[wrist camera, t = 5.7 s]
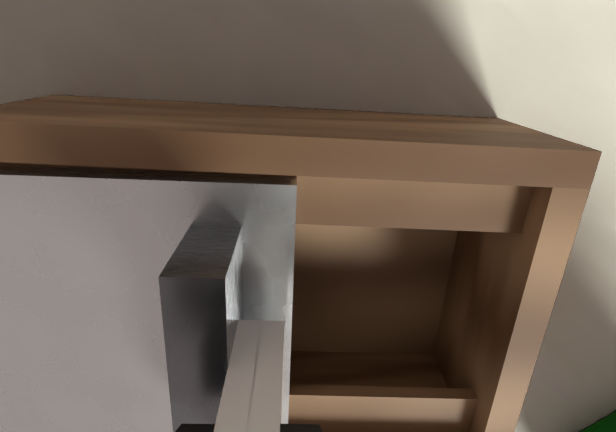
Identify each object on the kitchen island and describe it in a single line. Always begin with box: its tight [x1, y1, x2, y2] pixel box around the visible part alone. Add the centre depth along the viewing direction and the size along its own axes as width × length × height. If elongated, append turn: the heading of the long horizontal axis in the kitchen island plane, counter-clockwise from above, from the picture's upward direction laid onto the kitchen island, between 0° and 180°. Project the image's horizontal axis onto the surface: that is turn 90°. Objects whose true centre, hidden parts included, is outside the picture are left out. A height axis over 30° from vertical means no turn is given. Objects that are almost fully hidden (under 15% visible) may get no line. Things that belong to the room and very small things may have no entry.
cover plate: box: [0, 166, 297, 432], centre depth 13 cm, size 11×17×4 cm, turn 87°
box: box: [0, 95, 601, 432], centre depth 18 cm, size 14×20×7 cm
